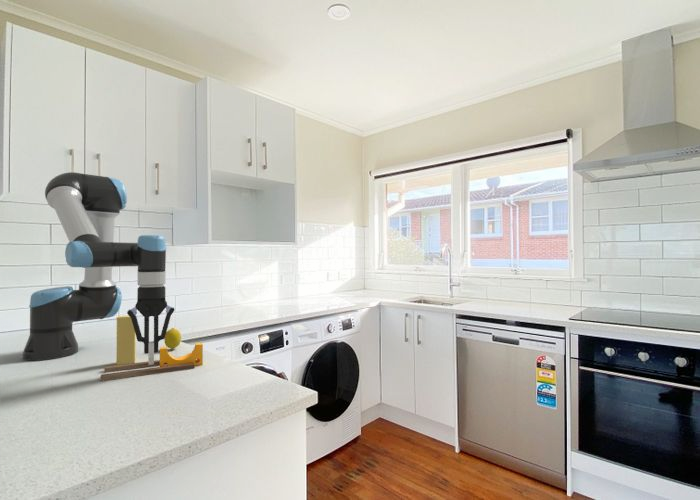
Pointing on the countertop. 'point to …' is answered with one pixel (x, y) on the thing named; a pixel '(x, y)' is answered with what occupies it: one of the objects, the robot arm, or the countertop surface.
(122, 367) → the channel
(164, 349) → the pipe clamp
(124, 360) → the yellow rectangular block
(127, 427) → the countertop surface
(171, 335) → the lemon
